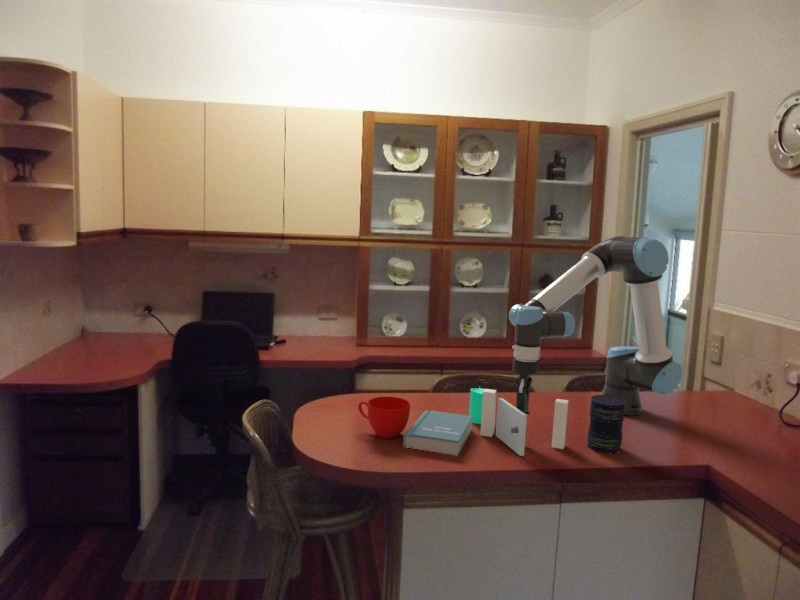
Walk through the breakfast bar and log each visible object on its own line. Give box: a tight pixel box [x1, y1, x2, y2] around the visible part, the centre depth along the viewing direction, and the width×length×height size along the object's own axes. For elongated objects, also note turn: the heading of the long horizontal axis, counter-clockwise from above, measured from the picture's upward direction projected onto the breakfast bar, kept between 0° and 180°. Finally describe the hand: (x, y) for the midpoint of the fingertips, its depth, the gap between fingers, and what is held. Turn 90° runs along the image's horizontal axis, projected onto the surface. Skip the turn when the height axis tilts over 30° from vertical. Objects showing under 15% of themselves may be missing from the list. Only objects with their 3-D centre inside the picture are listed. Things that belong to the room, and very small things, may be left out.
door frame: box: [480, 388, 570, 450], centre depth 182 cm, size 25×4×14 cm, turn 69°
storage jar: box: [586, 394, 625, 454], centre depth 179 cm, size 10×10×15 cm
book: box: [402, 409, 473, 457], centre depth 182 cm, size 23×16×5 cm
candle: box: [468, 385, 486, 425], centre depth 198 cm, size 6×6×12 cm
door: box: [495, 397, 528, 457], centre depth 177 cm, size 16×3×12 cm, turn 17°
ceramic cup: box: [358, 396, 411, 439], centre depth 184 cm, size 13×17×10 cm
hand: (520, 435), depth 180 cm, fingers closed
